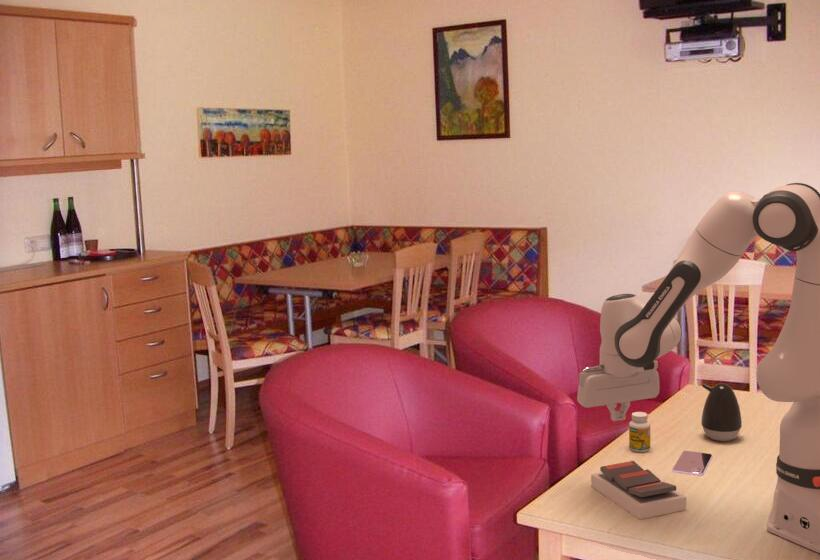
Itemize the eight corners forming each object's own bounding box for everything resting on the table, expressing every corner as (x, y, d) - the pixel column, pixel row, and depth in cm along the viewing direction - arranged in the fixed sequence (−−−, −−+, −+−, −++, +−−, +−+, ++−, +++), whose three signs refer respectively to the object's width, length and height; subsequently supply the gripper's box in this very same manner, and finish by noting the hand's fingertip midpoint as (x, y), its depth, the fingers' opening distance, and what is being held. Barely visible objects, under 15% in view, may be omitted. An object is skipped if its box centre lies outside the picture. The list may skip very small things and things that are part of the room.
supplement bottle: (652, 447, 239) (652, 412, 237) (647, 454, 234) (647, 418, 233) (632, 444, 242) (632, 409, 240) (626, 451, 237) (626, 415, 235)
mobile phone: (713, 453, 232) (703, 473, 219) (713, 456, 232) (702, 477, 219) (683, 449, 235) (670, 469, 222) (683, 452, 235) (670, 473, 222)
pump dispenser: (708, 429, 251) (709, 376, 249) (746, 436, 245) (748, 381, 242) (694, 439, 243) (695, 385, 241) (733, 447, 237) (734, 391, 234)
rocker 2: (660, 484, 207) (660, 480, 206) (626, 490, 204) (626, 486, 203) (647, 473, 211) (648, 469, 211) (614, 479, 208) (614, 475, 208)
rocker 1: (645, 475, 212) (645, 471, 212) (611, 481, 209) (611, 477, 209) (633, 464, 217) (633, 460, 216) (600, 470, 214) (600, 466, 213)
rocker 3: (676, 490, 201) (676, 485, 201) (641, 497, 198) (641, 492, 198) (663, 486, 206) (662, 481, 206) (628, 492, 203) (628, 487, 203)
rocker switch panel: (686, 509, 201) (686, 496, 200) (639, 519, 197) (639, 505, 196) (634, 478, 219) (634, 465, 219) (591, 486, 215) (591, 473, 215)
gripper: (586, 371, 204) (585, 430, 207) (664, 361, 211) (662, 418, 213) (572, 364, 210) (572, 421, 213) (648, 354, 217) (647, 409, 219)
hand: (618, 419), depth 213 cm, fingers closed
